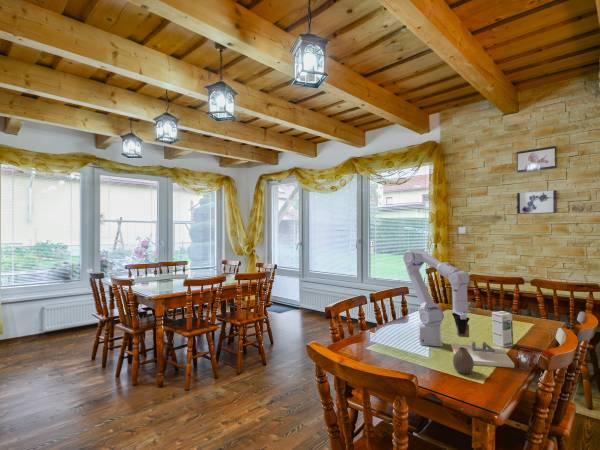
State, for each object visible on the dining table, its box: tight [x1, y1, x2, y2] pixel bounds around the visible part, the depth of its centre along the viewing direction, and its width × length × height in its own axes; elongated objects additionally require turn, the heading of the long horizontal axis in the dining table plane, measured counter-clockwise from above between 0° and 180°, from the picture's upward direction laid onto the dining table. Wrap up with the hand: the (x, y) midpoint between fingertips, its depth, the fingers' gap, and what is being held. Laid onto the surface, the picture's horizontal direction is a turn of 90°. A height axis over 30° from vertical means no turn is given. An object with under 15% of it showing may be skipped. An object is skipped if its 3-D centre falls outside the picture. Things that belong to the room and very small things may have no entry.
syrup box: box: [491, 310, 514, 348], centre depth 153 cm, size 6×6×14 cm
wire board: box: [450, 343, 515, 369], centre depth 140 cm, size 20×18×2 cm
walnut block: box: [456, 322, 470, 338], centre depth 144 cm, size 4×4×5 cm
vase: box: [452, 347, 474, 375], centre depth 126 cm, size 7×7×9 cm
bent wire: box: [471, 341, 495, 352], centre depth 139 cm, size 8×9×4 cm
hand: (460, 332), depth 144 cm, fingers closed on walnut block, 4 cm apart
